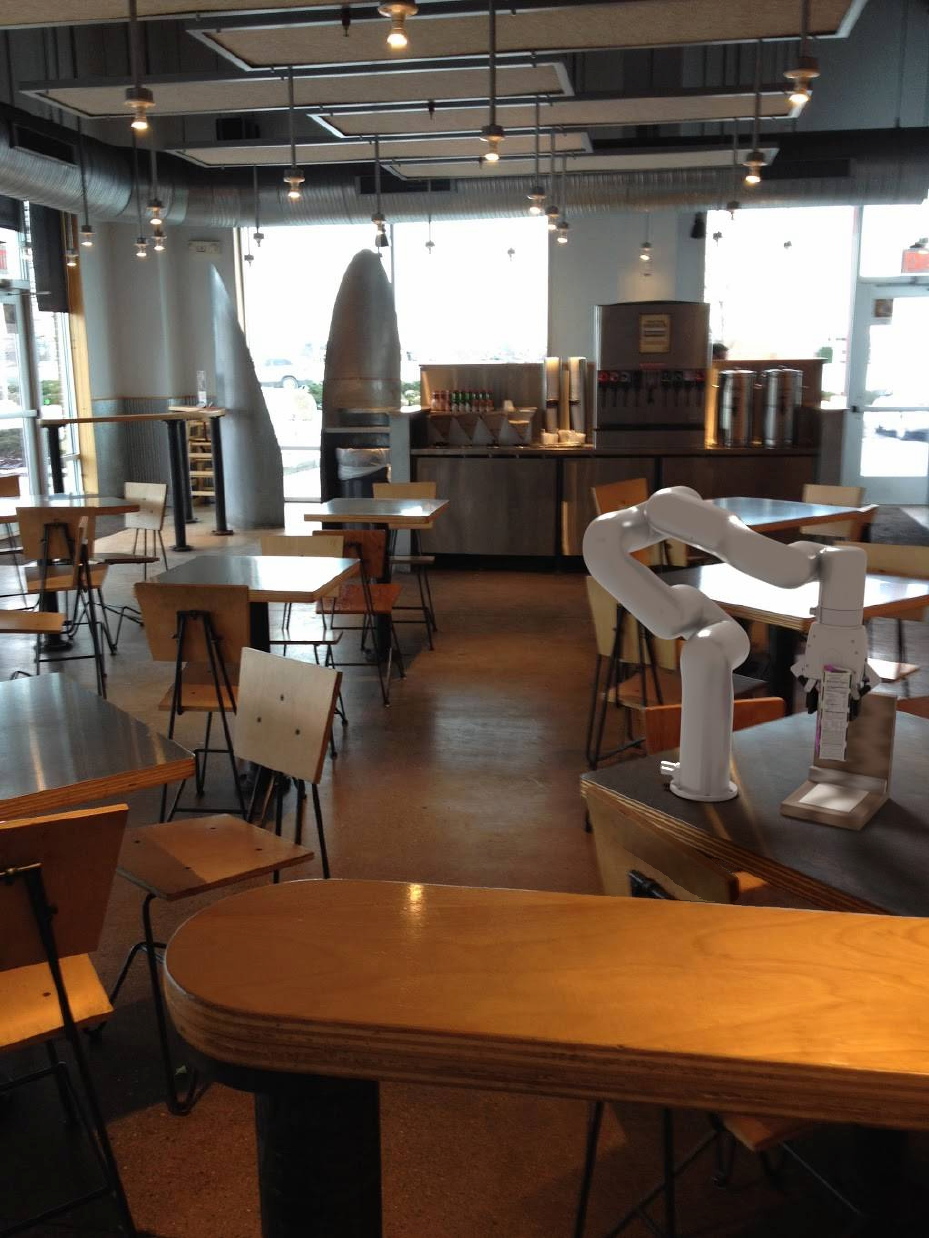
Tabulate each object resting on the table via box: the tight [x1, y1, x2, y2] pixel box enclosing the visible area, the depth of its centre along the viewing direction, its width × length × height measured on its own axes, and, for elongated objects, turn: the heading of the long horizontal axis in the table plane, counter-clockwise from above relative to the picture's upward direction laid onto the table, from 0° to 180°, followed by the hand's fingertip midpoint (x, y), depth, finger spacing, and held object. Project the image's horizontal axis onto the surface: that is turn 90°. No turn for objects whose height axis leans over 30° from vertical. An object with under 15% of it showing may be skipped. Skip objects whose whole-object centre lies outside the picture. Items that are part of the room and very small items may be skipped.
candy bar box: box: [814, 665, 852, 762], centre depth 196 cm, size 11×5×16 cm, turn 165°
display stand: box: [779, 690, 899, 832], centre depth 202 cm, size 14×20×20 cm
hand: (832, 715), depth 196 cm, fingers closed on candy bar box, 6 cm apart
